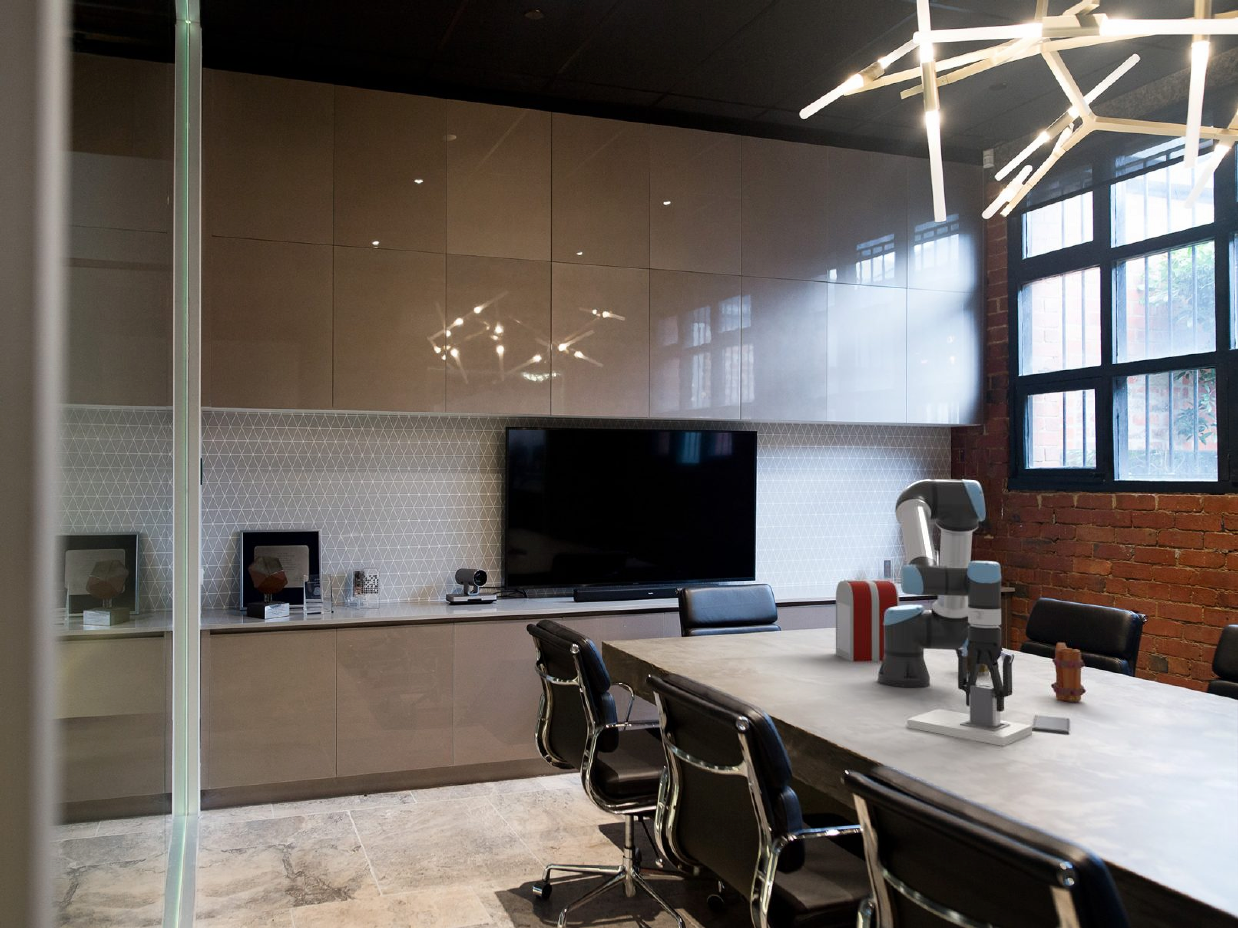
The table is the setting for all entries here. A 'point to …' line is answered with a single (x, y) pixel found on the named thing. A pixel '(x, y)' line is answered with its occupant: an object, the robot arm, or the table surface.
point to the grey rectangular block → (981, 704)
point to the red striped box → (863, 618)
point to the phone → (1051, 724)
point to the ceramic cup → (983, 667)
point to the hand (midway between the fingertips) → (984, 722)
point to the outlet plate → (968, 727)
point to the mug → (1068, 674)
